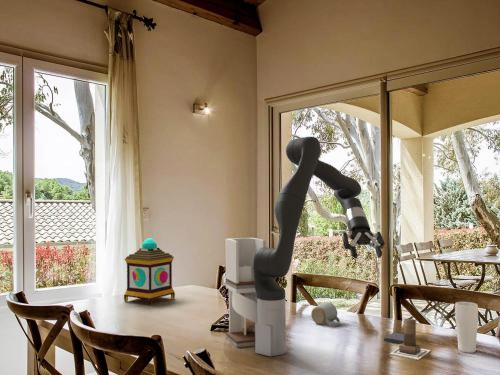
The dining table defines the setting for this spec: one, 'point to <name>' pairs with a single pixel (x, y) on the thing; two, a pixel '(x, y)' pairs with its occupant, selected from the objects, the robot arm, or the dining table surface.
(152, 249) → the decorative lantern
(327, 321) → the ceramic mug
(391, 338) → the ink pad
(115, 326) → the dining table surface
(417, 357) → the label card
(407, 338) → the stamp
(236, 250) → the white tiered stand
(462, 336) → the drinking glass
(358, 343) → the dining table surface
